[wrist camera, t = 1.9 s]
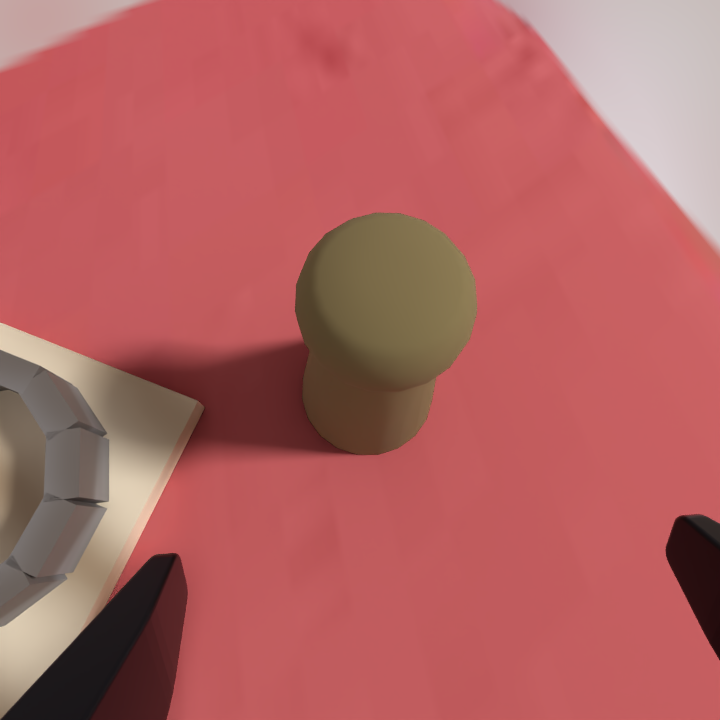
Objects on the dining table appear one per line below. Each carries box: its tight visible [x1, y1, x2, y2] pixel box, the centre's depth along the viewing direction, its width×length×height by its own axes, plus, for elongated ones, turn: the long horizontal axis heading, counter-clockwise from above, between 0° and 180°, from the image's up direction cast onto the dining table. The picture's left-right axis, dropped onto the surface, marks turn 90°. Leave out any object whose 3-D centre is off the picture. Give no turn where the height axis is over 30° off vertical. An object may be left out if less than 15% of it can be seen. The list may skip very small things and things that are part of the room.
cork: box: [295, 213, 477, 455], centre depth 18 cm, size 6×6×11 cm
